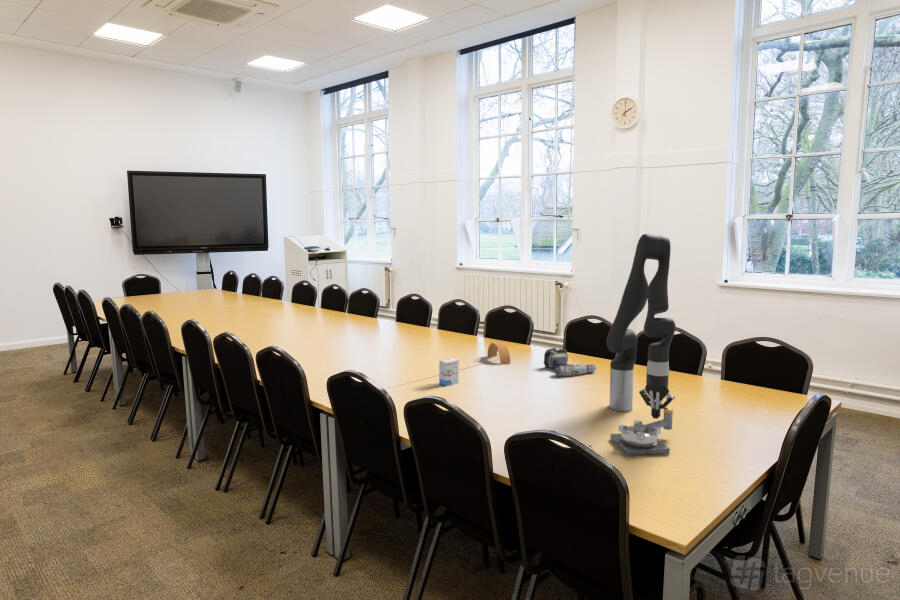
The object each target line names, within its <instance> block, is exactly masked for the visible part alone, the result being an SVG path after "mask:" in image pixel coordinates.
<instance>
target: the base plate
mask: <svg viewBox="0 0 900 600" xmlns="http://www.w3.org/2000/svg"><path fill="white" fill-rule="evenodd" d="M610 440H611V442H612V441H613V442H614V443H615V444H616V445H617V446H616V445H615V444H614V443H613V442H612V443H613V444H614V445H615V446H616V448H617V449H618V450H621V451H622V452H623V453H622V452H621V451H620V452H621V453H622V454H623V455H624V456H625V457H639V456H640V457H641V456H643V455H646V456H663V454H669V455H670V454H671V453H670V452H671V451H670V449H671V448H669V446H667V445H666V444H665V443H664V442H663V441H662V440H661V439H659V438H658V443H657V445H655V446H652V447H635V446H630V445H628V444H625V443H624V442H622V440H621V433H610Z"/></svg>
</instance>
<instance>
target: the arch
mask: <svg viewBox="0 0 900 600" xmlns="http://www.w3.org/2000/svg"><path fill="white" fill-rule="evenodd" d="M498 355H499V361H500V365H510V364H511V355H510V352H509V348H508V346H507V345H506V343H505V342H503V341H500V342H499V341H496V342H491V343H490V344H489V346H488V348H487V357H488V358H491V357H497V356H498Z"/></svg>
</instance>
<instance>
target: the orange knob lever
mask: <svg viewBox="0 0 900 600" xmlns="http://www.w3.org/2000/svg"><path fill="white" fill-rule="evenodd" d="M673 413H674V408H672V407H665V408H663V418H662V419H659V420H657V421H653V422H649V423H647V424H644V423H643V421H642V420H639V419H636V420H634V421H633V425H630V426H628V425H626V424H619V425H618V432H620V434H621V440H622V442H624V443H625V444H628V445H630V446H635V447H652V446H655V445H657V443H658V439H659V435H661V432H662V431H661V430H662V428H663V429H664V430H668V431H669V430H670V431H671V430H673V417H674V416H673V415H674V414H673Z"/></svg>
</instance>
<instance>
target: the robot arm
mask: <svg viewBox="0 0 900 600" xmlns="http://www.w3.org/2000/svg"><path fill="white" fill-rule="evenodd" d="M671 247H672V246H671V241H670V239H669V238H668V236H665V235H660V234H659V235H658V234H650V233H644V234H642V235H641V236H640V237H639V240H638V241H637V245H636V247H635V253H634V257H633V262H632V265H631V269H630V272H629V276H628V280H627V282H626V284H625V288H624V291H623V293H622V297H621V300H620V304H619V306H618V308H617V309H618V310H617V313H616V314H615V319H614V321H613V323H612V324H611V326H610V329H609V331H608V334H607V336H606V337H607V338H606V347H607V349H608V350H609V352H611V353H613V354H617V356H616V357H614V358H613V359H611V360H610V368H609V369H610V370H609V371H610V372H609V373H610V374H609V404H608V405H609V409H610V410H613V411H616V412H631V411H633V405H634V403H633V402H634V369H635V368H634V367H635V364H636V361H637V350H638V337H637V334H636V332H635V331H634V330H633V329H630V328H629V326H630V325H631V323H633V321H634V320H635V319H636V318H637V317H638V316H639V315H640V313H642V311H643V310H644V308H645V306H646V303H647V312H646V313H647V314H646V318H645V321H644V323H643V331H644V332H643V333H644V334H645V336H646V337H648V338H662V339H661V340H660V341H658V342H652V343H650V344H649V345H648V349H647V350H648V351H647V363H646V382H645V384H646V385H645V386H644V388H643V389H641V390H640V391H639V392H638V393H639V396H640V397H641V398H642V400H643V401H644V403H645V404H646V406H649V407H650V411H651V414H650V415H651V417H652V419H655V420H657V419H659V418H660V417H661V412H662V411H661V410H664V408H667V406H669V404H671V403H672V402H673V401H674V399H675V396H674V395H672V394H671V393H670V389H669V380H670V379H669V378H670V376H669V375H670V365H669V363H670V362H669V360H670V359H669V357H670V348H671V344H672V341H673V338H674V335H675V333H676V322H675V320H674V319H673V318H671V317H655V316H656V315H659V314H663V313H666V312H667V311H668V310H669V306H670V305H669V291H668V286H669V285H668V282H669V281H668V280H669V272H670V260H671V249H672V248H671ZM646 260H655V261H657V262H658V263H657V265H658V267H657V270H656V273H655V274H654V277H652V279H651V281H650V282H648V279H647V277H646V274H645V265H646ZM664 399H665V401H664ZM675 400H676V399H675ZM663 401H664V402H663Z"/></svg>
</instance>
